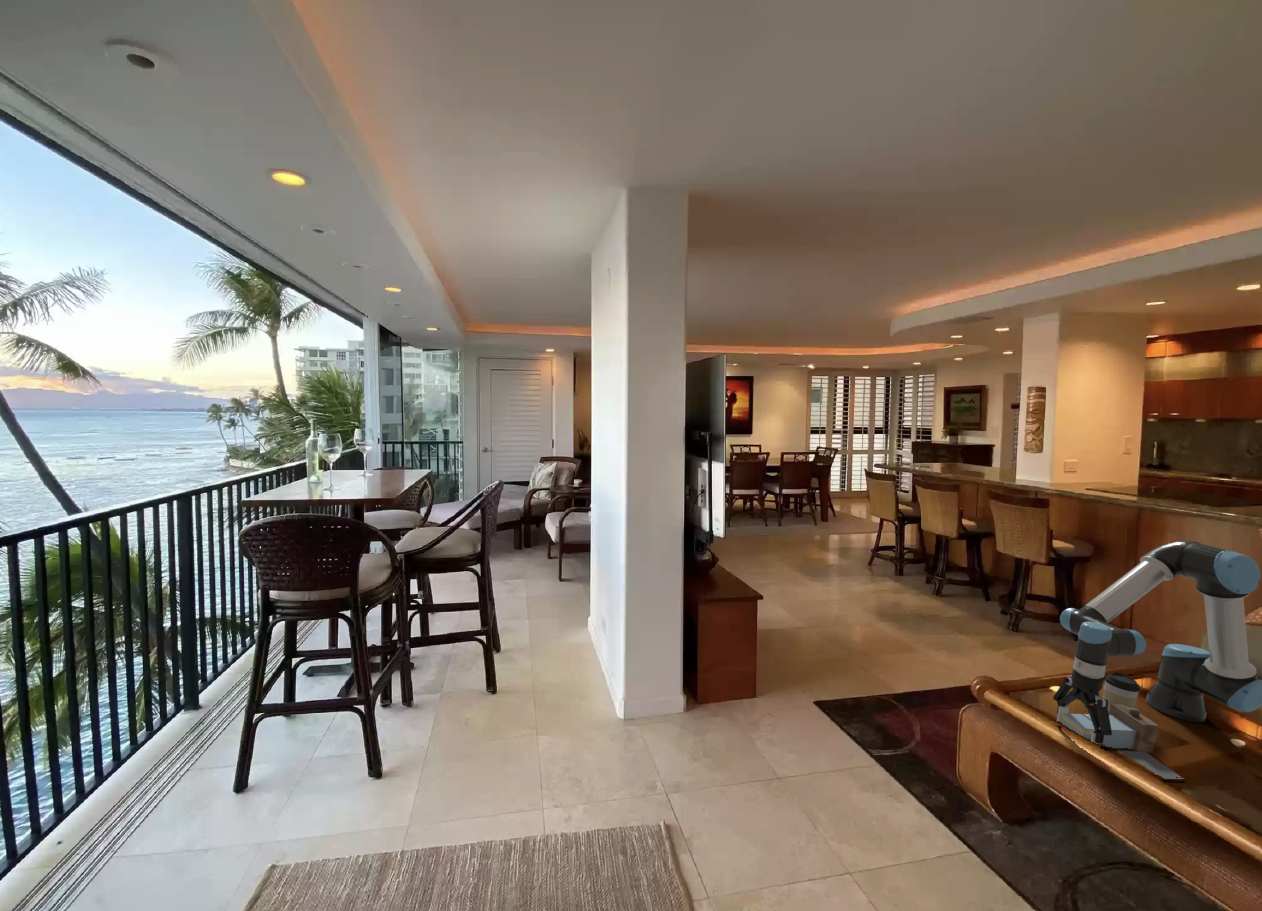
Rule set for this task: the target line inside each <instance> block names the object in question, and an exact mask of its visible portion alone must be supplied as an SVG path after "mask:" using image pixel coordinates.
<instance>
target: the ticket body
mask: <svg viewBox="0 0 1262 911" xmlns="http://www.w3.org/2000/svg"><path fill="white" fill-rule="evenodd" d="M1082 715H1084V716H1085V717H1086V718H1088V719H1089V720H1091V717H1090V714H1089V713H1082ZM1109 719H1110V724H1111V730H1112V735H1104V740H1103V743H1102V744H1103V745H1105V746H1107V747H1112V748H1111V749H1123V748H1128V750H1133V745H1134V740H1135V735H1136V730H1134V729H1133V728H1131V727H1130V726H1128V725H1127V724H1125V723H1124V722H1122V721H1121V720H1120V719H1118V718H1117V717H1115V716H1114V715H1109ZM1091 721H1092V720H1091Z"/></svg>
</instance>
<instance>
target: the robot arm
mask: <svg viewBox="0 0 1262 911" xmlns="http://www.w3.org/2000/svg"><path fill="white" fill-rule="evenodd" d="M1139 562H1140V563H1138V564H1137V565H1136V566H1135V567H1133V568H1132V569H1130V570H1129V571H1128V572H1126V573H1125V574H1124V575H1123V576H1121V577H1120V578H1119V579H1117V580H1116V581H1114V582H1113V583H1112V584H1111V585H1109V586H1108V587H1107V588H1106V589H1105V590H1103V591H1102V592H1100V593H1099V594H1098V595H1097V596H1095V597H1094V598H1093V599H1091V600H1090V601H1089V602H1087V603H1086V604H1085V605H1084V606H1082V607H1081V608H1080V609H1078V608H1074V607H1069V608H1066V609H1064V610H1063V611H1062V612H1061V614H1060V616H1059V623H1060V625H1061V626H1062V627H1063V628H1064V629H1066V630H1067V631H1069V632H1070V633H1072V634H1074V635H1077V643H1076V650H1075V653H1074V660H1073V669H1072V671H1071V677H1067V676H1066V677H1064V678H1063V681H1062V683H1061V685H1060V687H1059V688H1058V690H1056V692H1055V693H1054V695H1053V697H1052V698H1053V701H1056V703H1057V710H1056V713H1057V716H1056V722H1057V721H1059V722H1062V718H1063V714H1064V713H1067V714H1069V710H1070V707H1069V706H1070V705H1069V704H1071V703H1073V702H1074V701H1076V700H1078V701H1080V702H1081V703H1082V704H1084V707H1085V708H1086V709H1087V711H1088V714H1090V717H1091V720H1092V723H1093V726H1094V729H1095V730H1092V735H1091V742H1094V743H1096V744H1100V745H1101V744H1102V743H1103V740H1104V735H1112V730H1111V724H1110V719H1109V713H1108V700H1106V699H1103V697H1100V694H1099V692H1100V691H1101V690H1102V689H1103V687H1104V686H1103V684H1104V681H1105V678H1104V677H1105V674H1106V669H1107V668H1106V667H1107V662H1108V657H1113V656H1114V657H1115V656H1116V657H1117V656H1122V657H1123V656H1127V657H1128V656H1129V657H1131V656H1132V657H1133V656H1135V655H1136V656H1138V655H1141V654H1143V653H1144V652H1145V651H1146V648H1147V641H1146V639H1145V638H1144V636H1143V635H1142V633H1140V632H1138V631H1137V630H1134V629H1129V628H1124V629H1122V628H1120V627H1117V626H1115V625H1113V624H1110V622H1111V621H1113V619H1115V618H1117V617H1118V616H1119V615H1120V614H1121V613H1123V612H1124V611H1125V610H1127V609H1128V608H1130V607H1131V606H1132V605H1134V604H1135V603H1136V602H1137V601H1139V600H1140V599H1141V598H1142V597H1144V596H1146V594H1148V593H1149V592H1150V591H1152V590H1153V589H1154V588H1156V587H1157V586H1158V585H1159V584H1161V583H1162V582H1163V581H1171V580H1173V579H1174V578H1175V577H1180V576H1182V577H1183V576H1184V577H1187V578H1188V579H1192V580H1194V581H1195V586H1196V587H1195V588H1196V591H1197V592H1198V593H1199V594H1201V595H1202V596H1203V600H1204V602H1203V603H1204V610H1205V619H1206V631H1207V639H1208V640H1207V641H1208V650H1209V651H1208V650H1206V649H1204V648H1200V647H1197V646H1192V645H1188V644H1186V645H1185V644H1180V643H1179V644H1178V643H1169V644H1167V645H1165V646H1164V648H1163V651H1162V654H1161V660H1160V665H1159V670H1158V675H1157V680H1156V682H1155V684H1154V685H1153V686H1152V688H1151V689H1150V691H1148V692H1147V695H1146V698H1145V701H1146V703H1147V704H1148V705H1149V706H1151V707H1152V708H1153V709H1155V710H1157V711H1158V712H1160V713H1163V714H1165V715H1168V716H1170V717H1173V718H1176V719H1179V720H1183V721H1185V722H1186V721H1188V722H1193V723H1204V722H1205V721H1206V718H1207V710H1206V709H1205V701H1204V695H1206V696H1207V697H1209V698H1211V699H1213V700H1215V701H1218V702H1219V703H1221V704H1223V705H1225V706H1227V707H1229V708H1233V709H1235V710H1236V711H1238V712H1239V711H1240V712H1243V713H1251V712H1253V711H1256V710H1258V709H1259V708H1260V707H1262V679H1259V678H1258V673H1257V672H1258V671H1257V668H1256V667H1255V665H1254V664H1253V663H1251V662H1250V661H1249V650H1248V639H1247V637H1248V636H1247V627H1246V615H1245V614H1246V613H1245V604H1244V603H1245V601H1244V598H1247V597H1248V596H1250V594H1251V593H1252V592H1254V591H1255V590H1256V589H1257V588H1258V587H1259V584H1258V582H1260V581H1261V578H1262V577H1261V570H1260V569H1261V568H1260V567H1259V565H1258V564H1257V561H1255V560H1254V559H1253V558H1252V557H1250V556H1248V555H1246V554H1244V553H1243V554H1242V553H1240V552H1237V551H1234V550H1230V549H1223V548H1220V547H1217V546H1213V545H1209V544H1205V543H1201V542H1198V541H1195V540H1193V541H1192V540H1178V541H1176V540H1175V541H1173V542H1169V543H1166V544H1162V545H1160V546H1157V547H1155V548H1154V549H1152V550H1150V551H1148V552H1147V553H1145V554H1144V555H1143V556H1141V557H1140V559H1139ZM1099 728H1100V729H1099Z"/></svg>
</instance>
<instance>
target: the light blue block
mask: <svg viewBox="0 0 1262 911" xmlns="http://www.w3.org/2000/svg"><path fill="white" fill-rule="evenodd" d="M1062 724H1063V725H1065V726H1067V727H1068V728H1069V729H1071V730H1073V731H1075V732H1076V733H1078V734H1079V735H1081V736H1083V737H1085V738H1087V739H1090V740H1091V735H1092V730H1095V729H1094V726H1093V723H1092V721H1091V720H1089V719H1088V718H1086V717H1085V716H1084V715H1083V713H1068V714H1067V713H1064V714H1063V718H1062ZM1099 729H1100V728H1099Z"/></svg>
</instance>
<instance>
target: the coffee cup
mask: <svg viewBox="0 0 1262 911" xmlns="http://www.w3.org/2000/svg"><path fill="white" fill-rule="evenodd" d="M1104 677H1105V678H1104V686H1103V696H1102V699H1106V700H1108V713H1109V712H1110V707H1111V704H1121V705H1127V706H1129V707H1130V708H1131V707H1132V708H1136V704H1137V701H1138V699H1139V696H1138V695H1139V693H1140V692H1141V685H1140V684H1139V683H1138V682H1137V681H1136V680H1135V679H1134V678H1131V677H1130V676H1128V675H1127V676H1126V675H1124V674H1122V673H1120V672H1116V671H1115V672H1112V673H1110V674H1106V676H1104Z"/></svg>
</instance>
